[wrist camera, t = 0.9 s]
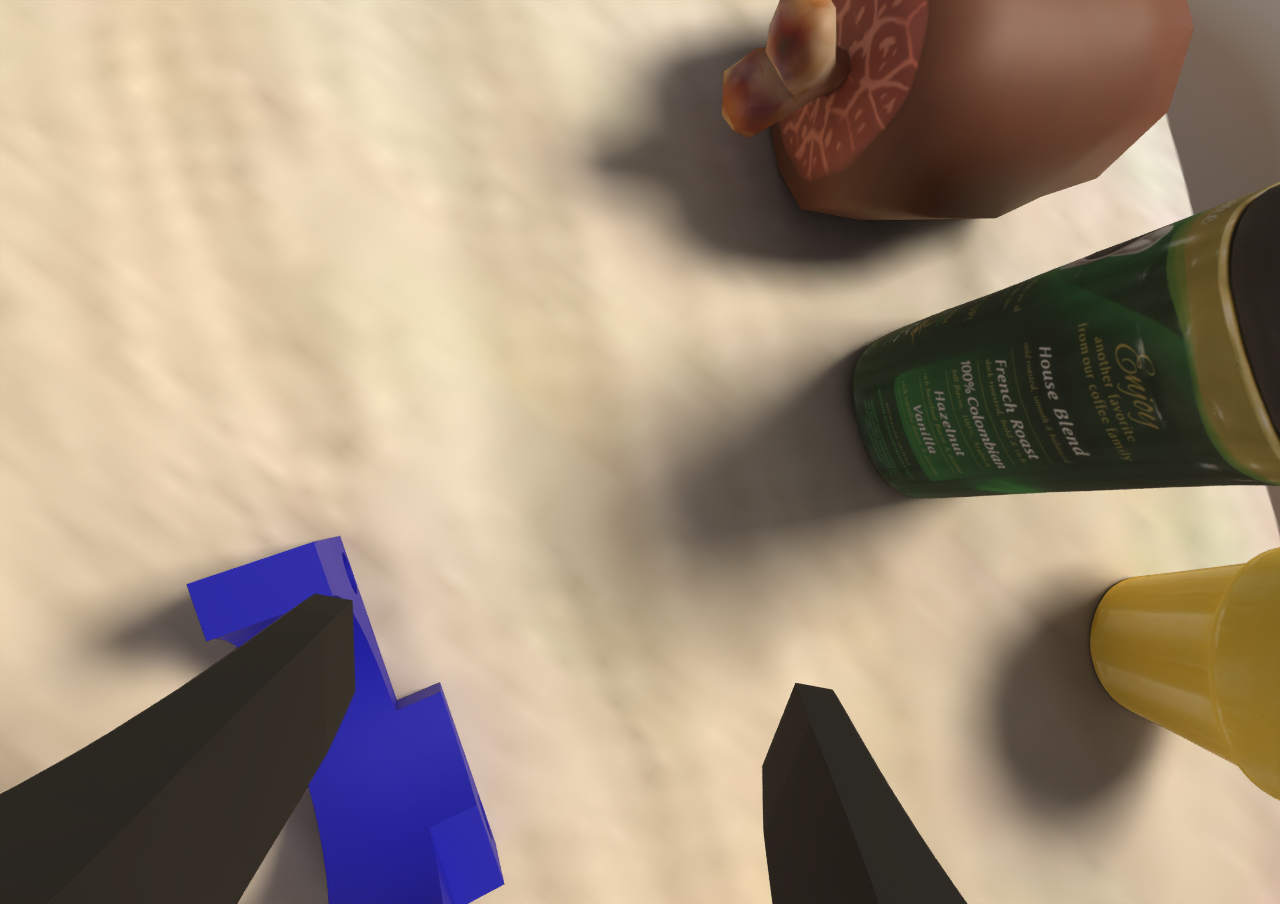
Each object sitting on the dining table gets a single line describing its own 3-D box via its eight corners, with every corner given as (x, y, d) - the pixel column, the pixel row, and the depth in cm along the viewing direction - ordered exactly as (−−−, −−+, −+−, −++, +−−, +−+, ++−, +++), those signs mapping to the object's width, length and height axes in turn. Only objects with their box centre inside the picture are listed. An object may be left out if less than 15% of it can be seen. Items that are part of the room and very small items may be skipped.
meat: (1006, 33, 35) (1229, -149, 26) (1054, 247, 35) (1299, 144, 25) (655, 21, 29) (779, -232, 19) (710, 285, 28) (865, 164, 19)
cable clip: (494, 840, 24) (516, 941, 18) (364, 906, 22) (344, 1038, 17) (384, 521, 24) (372, 522, 18) (246, 567, 22) (186, 584, 17)
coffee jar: (878, 522, 30) (1534, 531, 12) (822, 352, 30) (1402, 113, 12) (1034, 456, 33) (1739, 386, 15) (984, 302, 33) (1633, 52, 15)
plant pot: (1034, 713, 31) (1290, 795, 22) (1085, 508, 34) (1338, 505, 24) (1186, 777, 34) (1473, 876, 25) (1224, 583, 36) (1502, 606, 27)
